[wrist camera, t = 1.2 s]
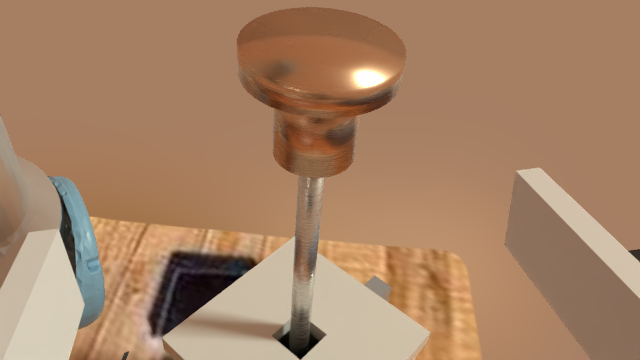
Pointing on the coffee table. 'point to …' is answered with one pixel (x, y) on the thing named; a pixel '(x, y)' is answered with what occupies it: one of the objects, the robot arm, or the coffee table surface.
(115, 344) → the coffee table surface
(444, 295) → the coffee table surface
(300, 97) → the plunger
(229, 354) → the press
